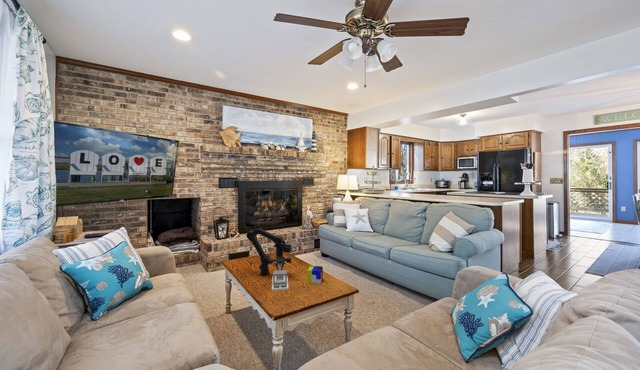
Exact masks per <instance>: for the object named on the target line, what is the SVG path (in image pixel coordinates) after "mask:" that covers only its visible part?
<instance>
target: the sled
mask: <svg viewBox="0 0 640 370" xmlns="http://www.w3.org/2000/svg"><path fill="white" fill-rule="evenodd" d="M281 267H282V264H278V270H276V271H280V270H281ZM276 280H284V275H280V276H276Z"/></svg>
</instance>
